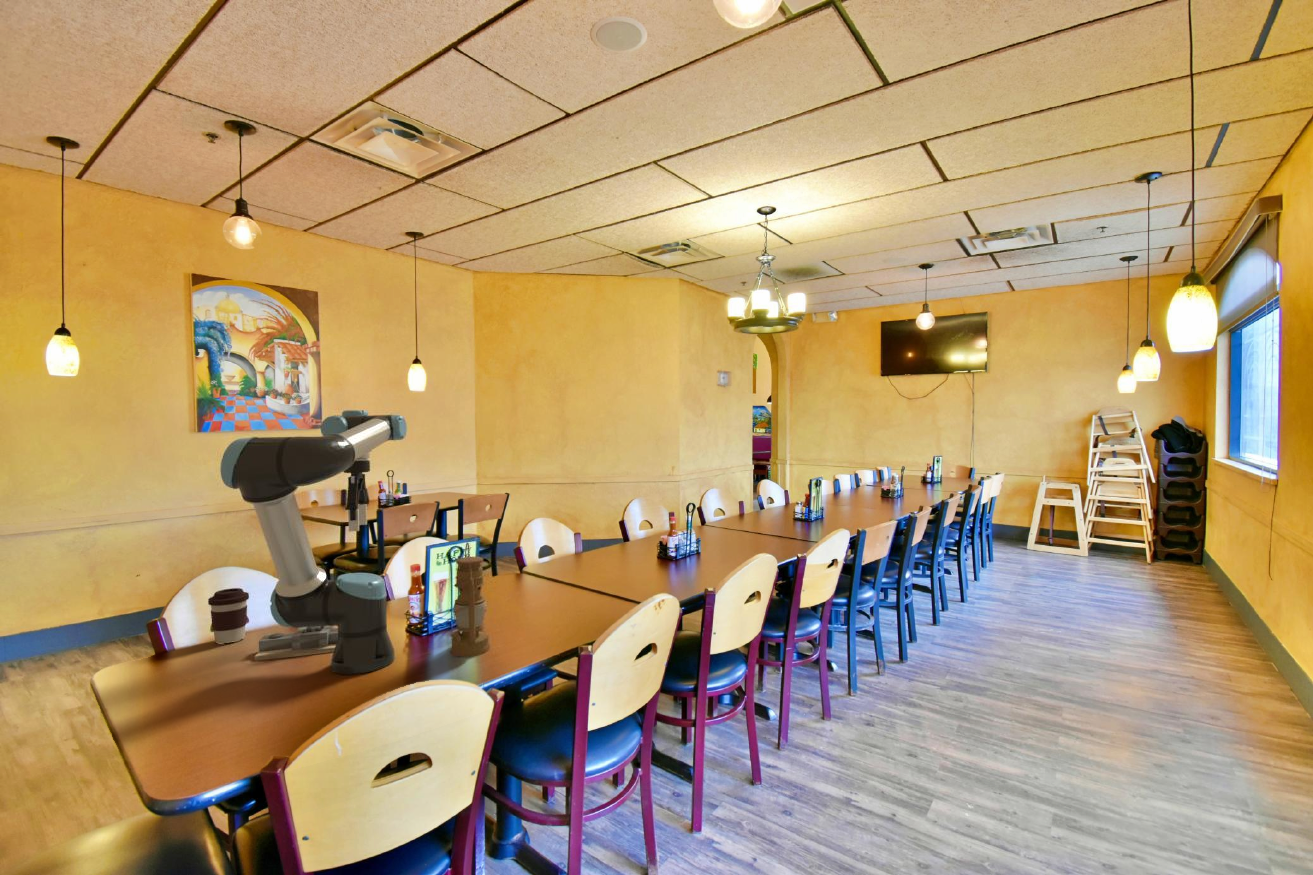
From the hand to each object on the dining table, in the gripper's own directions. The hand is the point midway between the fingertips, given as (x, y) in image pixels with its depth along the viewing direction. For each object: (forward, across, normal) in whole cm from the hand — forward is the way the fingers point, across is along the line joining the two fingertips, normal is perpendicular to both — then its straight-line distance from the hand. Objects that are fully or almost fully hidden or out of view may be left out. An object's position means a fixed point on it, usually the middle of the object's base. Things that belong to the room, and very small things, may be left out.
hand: (358, 527), depth 189 cm
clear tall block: (+30, -13, +10) cm, 35 cm away
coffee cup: (+32, +2, +36) cm, 48 cm away
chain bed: (+32, -14, +10) cm, 36 cm away
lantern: (+32, -31, -33) cm, 55 cm away
